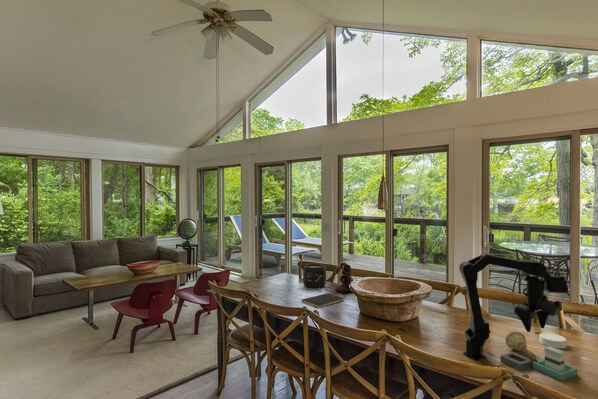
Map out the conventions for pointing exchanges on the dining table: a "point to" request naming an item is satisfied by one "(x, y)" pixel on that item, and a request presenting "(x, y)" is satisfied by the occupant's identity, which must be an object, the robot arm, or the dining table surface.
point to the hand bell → (519, 344)
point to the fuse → (554, 359)
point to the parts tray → (562, 376)
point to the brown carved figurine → (344, 278)
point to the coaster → (553, 340)
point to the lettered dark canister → (314, 276)
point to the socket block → (516, 361)
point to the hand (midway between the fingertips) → (535, 329)
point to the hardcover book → (323, 300)
